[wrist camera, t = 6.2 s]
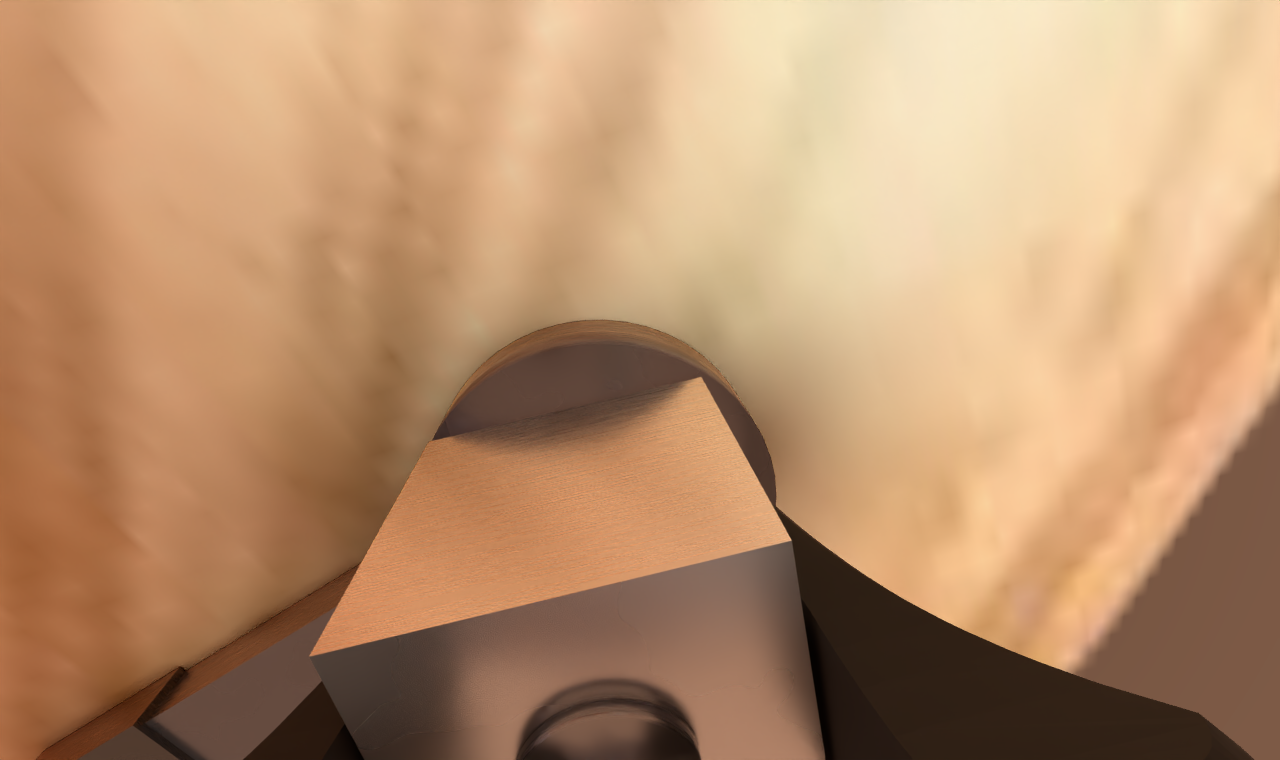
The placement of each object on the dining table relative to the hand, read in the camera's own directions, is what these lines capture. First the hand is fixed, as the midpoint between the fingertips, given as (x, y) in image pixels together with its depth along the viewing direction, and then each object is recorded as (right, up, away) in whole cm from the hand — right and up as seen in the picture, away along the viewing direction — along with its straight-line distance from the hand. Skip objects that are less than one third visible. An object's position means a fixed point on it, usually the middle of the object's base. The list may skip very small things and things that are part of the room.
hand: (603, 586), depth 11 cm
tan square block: (0, +1, +2) cm, 2 cm away
